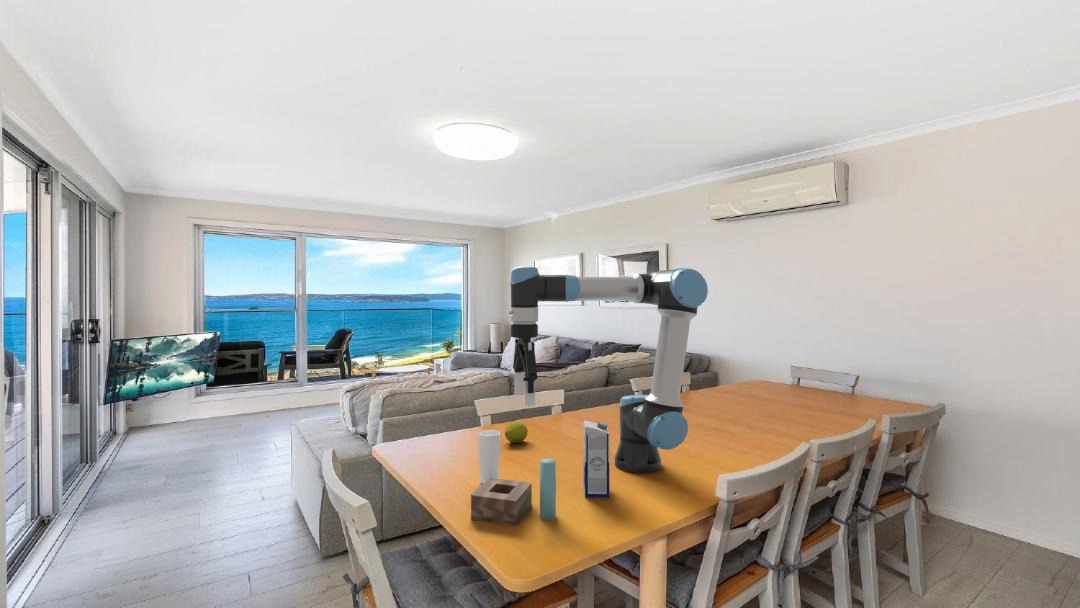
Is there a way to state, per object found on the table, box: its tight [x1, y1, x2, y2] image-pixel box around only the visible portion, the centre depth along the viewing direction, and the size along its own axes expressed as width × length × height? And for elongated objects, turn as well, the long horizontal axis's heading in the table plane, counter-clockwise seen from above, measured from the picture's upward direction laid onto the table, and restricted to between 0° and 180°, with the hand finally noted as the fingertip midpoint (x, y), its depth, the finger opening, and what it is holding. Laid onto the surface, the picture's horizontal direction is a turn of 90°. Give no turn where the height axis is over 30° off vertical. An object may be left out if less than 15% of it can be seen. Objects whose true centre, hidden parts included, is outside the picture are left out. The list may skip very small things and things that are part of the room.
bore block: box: [470, 478, 533, 527], centre depth 123 cm, size 12×12×6 cm
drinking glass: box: [477, 429, 502, 485], centre depth 142 cm, size 7×7×15 cm
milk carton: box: [583, 420, 610, 499], centre depth 135 cm, size 7×7×20 cm
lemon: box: [504, 421, 529, 444], centre depth 181 cm, size 11×8×8 cm
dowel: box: [539, 458, 557, 521], centre depth 120 cm, size 4×4×14 cm
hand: (524, 399), depth 131 cm, fingers open, 13 cm apart
